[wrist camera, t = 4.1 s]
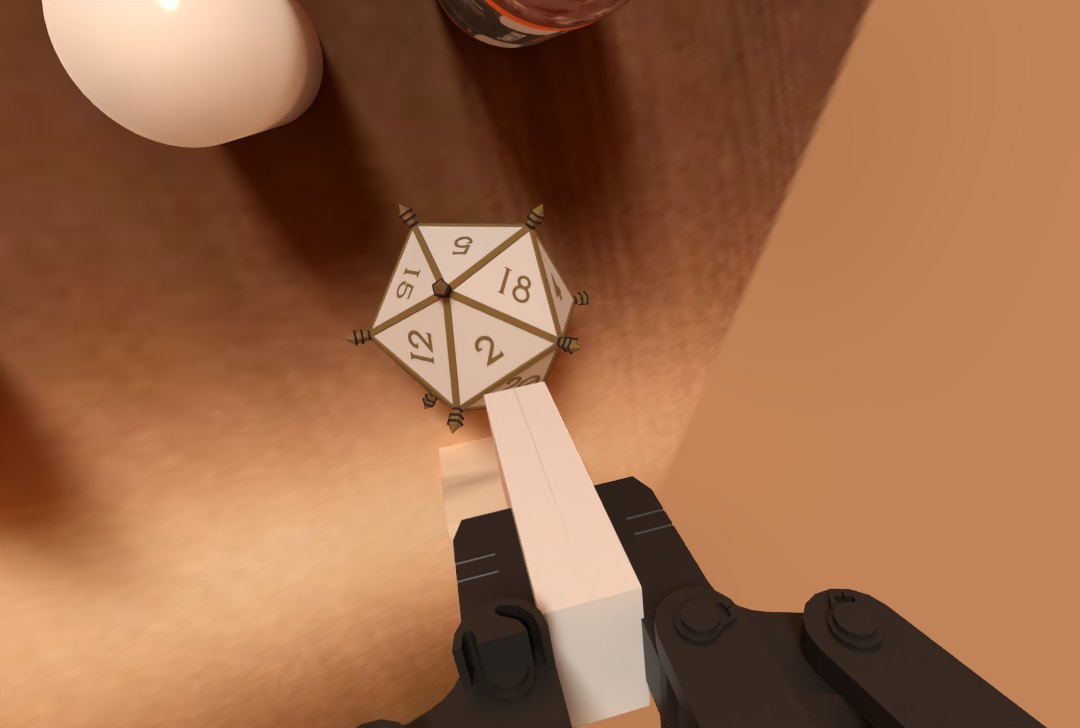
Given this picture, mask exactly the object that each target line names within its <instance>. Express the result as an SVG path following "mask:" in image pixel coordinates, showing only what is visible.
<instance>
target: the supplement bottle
mask: <svg viewBox="0 0 1080 728" xmlns="http://www.w3.org/2000/svg"><path fill="white" fill-rule="evenodd" d="M438 1H439V3H440V5H441V6H442V8H443V9H444V11H445V12H446V14H447V15H448V16H449V18H450V19H451V20H452V21H453V22H454V23H455V24H456V25H457V26H458V27H459V28H460V29H462V30H463V31H464V32H465V33H467V34H469V35H470V36H472V37H473V38H475V39H477V40H479V41H481V42H483V43H486V44H489V45H492V46H497V47H506V48H517V47H526V46H531V45H534V44H537V43H540V42H543V41H546V40H549V39H552V38H553V37H555V36H558V35H561V34H564V33H567V32H571V31H574V30H576V29H579V28H581V27H584V26H587V25H589V24H592V23H594V22H596V21H599V20H601V19H603V18H605V17H607V16H609V15H610V14H612V13H613V12H615V11H616V10H617V9H619V8H620V7H622V6H623V5H624V4H626V3H627V2H628V1H629V0H438Z"/></svg>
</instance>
